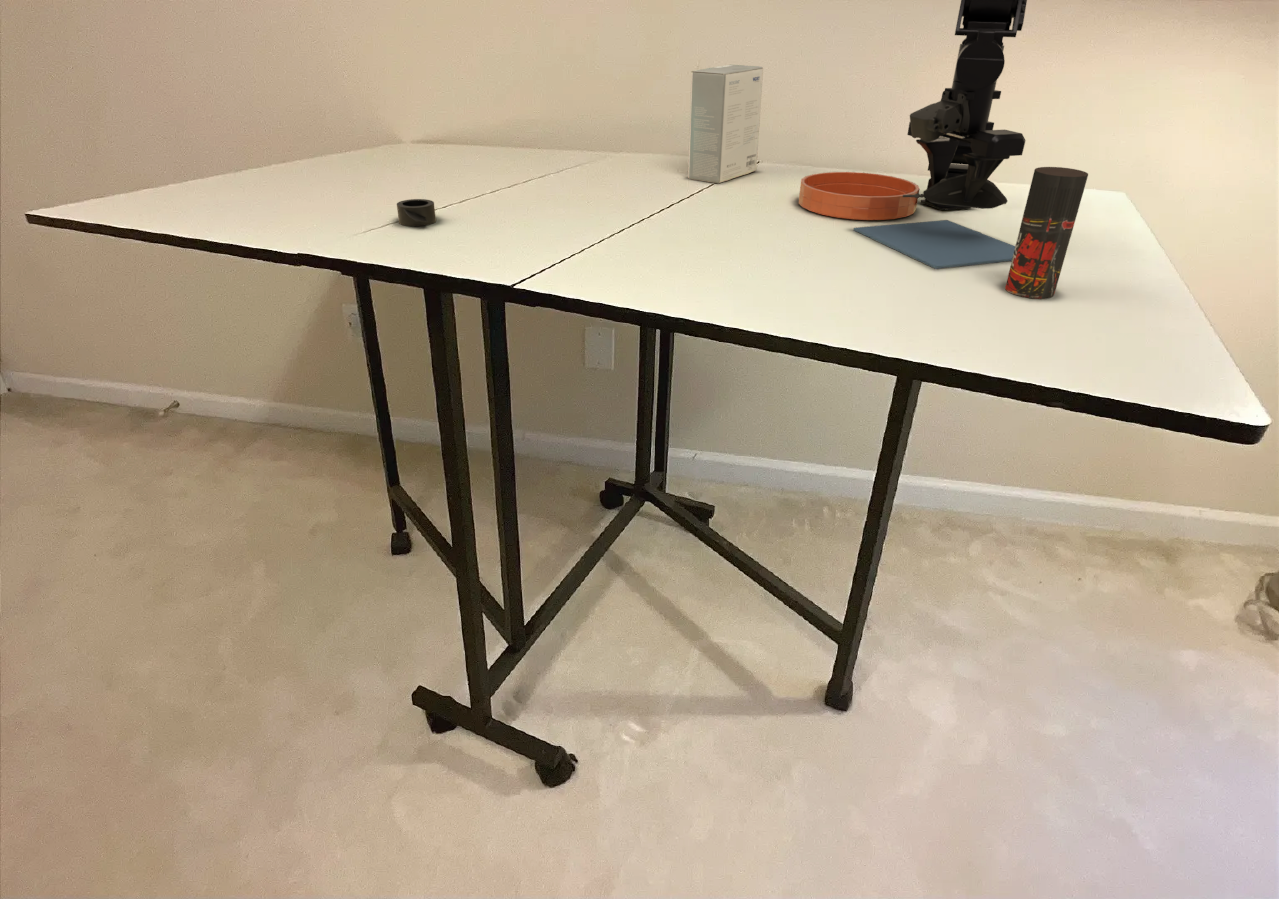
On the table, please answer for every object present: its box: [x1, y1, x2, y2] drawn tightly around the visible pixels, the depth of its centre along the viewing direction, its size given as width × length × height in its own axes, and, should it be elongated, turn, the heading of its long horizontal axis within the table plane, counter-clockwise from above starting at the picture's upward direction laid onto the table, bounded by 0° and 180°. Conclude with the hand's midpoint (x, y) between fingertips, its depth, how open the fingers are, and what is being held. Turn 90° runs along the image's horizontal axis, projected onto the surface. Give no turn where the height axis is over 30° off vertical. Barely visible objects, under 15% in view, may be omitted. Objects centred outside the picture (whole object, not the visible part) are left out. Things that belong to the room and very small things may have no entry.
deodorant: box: [1004, 166, 1089, 300], centre depth 101 cm, size 6×6×15 cm
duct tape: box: [396, 198, 437, 227], centre depth 130 cm, size 8×10×3 cm
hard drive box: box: [687, 64, 764, 184], centre depth 160 cm, size 16×8×20 cm, turn 144°
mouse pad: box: [853, 219, 1016, 270], centre depth 124 cm, size 18×21×1 cm
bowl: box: [798, 171, 921, 221], centre depth 142 cm, size 20×20×4 cm
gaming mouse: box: [903, 175, 1008, 210], centre depth 120 cm, size 6×15×4 cm, turn 76°
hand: (951, 195), depth 120 cm, fingers closed on gaming mouse, 7 cm apart
